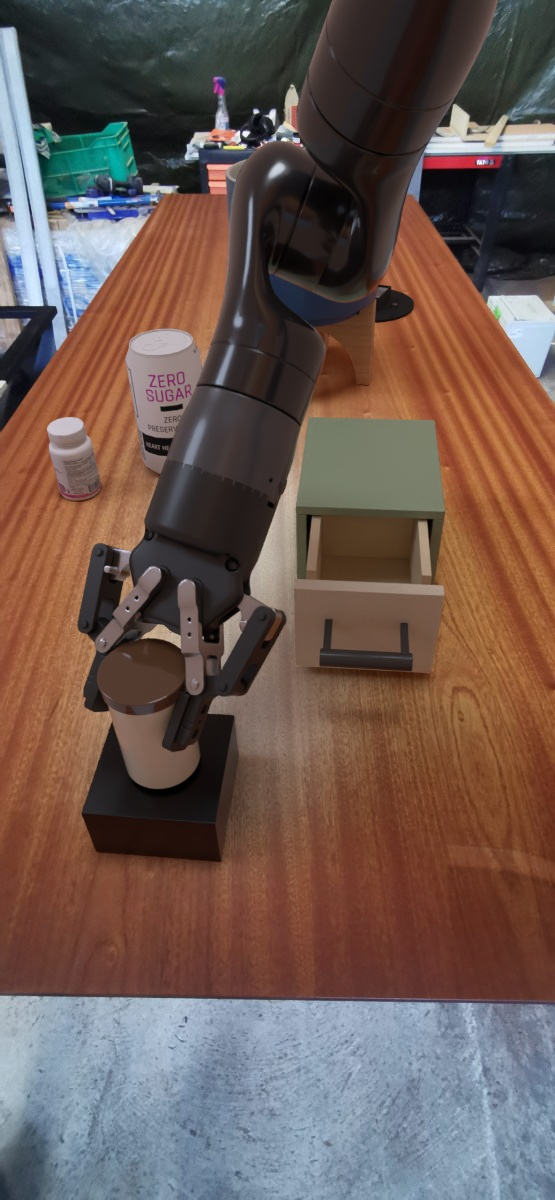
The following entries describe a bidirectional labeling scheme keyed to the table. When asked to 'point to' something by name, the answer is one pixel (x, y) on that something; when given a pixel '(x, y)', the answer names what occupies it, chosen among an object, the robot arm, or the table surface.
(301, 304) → the planter
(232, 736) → the stand
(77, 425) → the pill bottle
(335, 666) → the drawer
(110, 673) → the jar
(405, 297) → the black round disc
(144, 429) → the supplement can
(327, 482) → the cabinet
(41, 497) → the table surface
